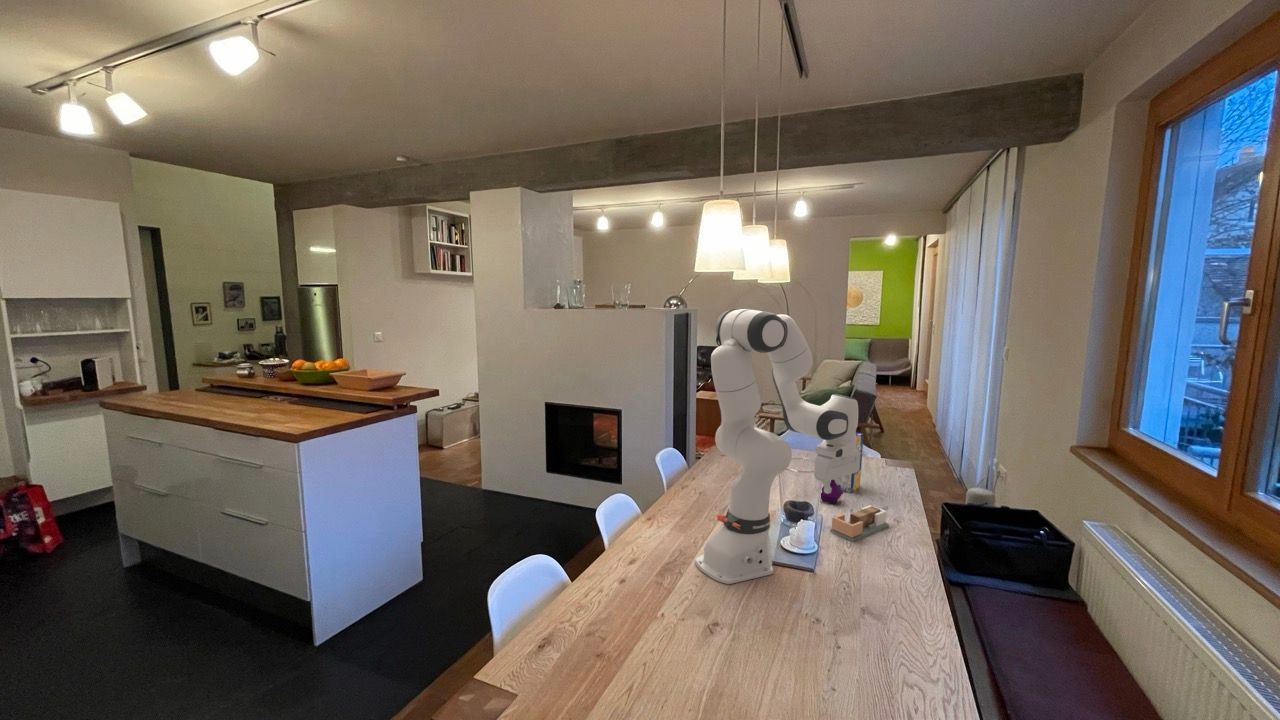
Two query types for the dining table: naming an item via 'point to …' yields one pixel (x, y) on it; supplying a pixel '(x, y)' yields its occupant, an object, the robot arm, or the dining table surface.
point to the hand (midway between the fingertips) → (836, 490)
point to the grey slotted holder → (872, 528)
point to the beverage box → (855, 477)
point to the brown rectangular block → (864, 516)
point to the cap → (846, 526)
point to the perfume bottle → (833, 495)
